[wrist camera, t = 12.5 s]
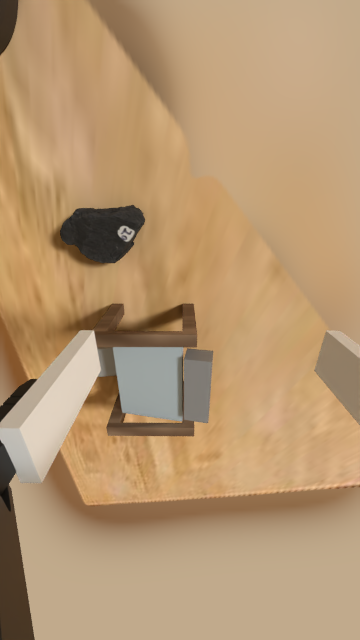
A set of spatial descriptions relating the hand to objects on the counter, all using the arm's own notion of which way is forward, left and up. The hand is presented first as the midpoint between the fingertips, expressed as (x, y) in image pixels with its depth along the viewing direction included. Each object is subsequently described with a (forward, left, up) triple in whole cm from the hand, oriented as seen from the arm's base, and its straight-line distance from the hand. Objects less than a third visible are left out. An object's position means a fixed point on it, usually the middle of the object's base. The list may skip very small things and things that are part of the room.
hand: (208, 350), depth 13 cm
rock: (-4, -13, -29) cm, 32 cm away
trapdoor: (+18, -4, -20) cm, 27 cm away
